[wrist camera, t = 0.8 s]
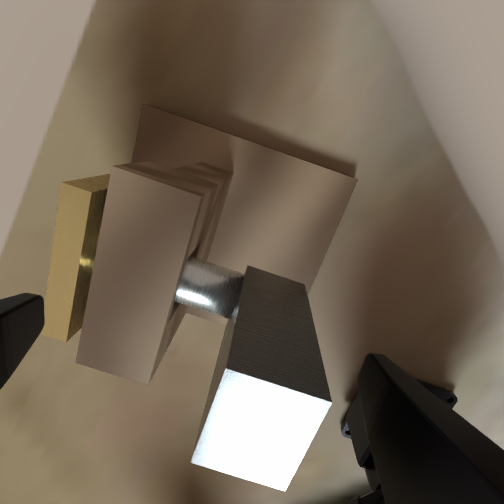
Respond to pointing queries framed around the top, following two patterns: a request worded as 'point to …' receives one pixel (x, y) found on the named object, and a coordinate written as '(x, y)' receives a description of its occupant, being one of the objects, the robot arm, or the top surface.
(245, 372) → the shaft
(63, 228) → the bar
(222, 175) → the bearing stand
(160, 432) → the top surface
